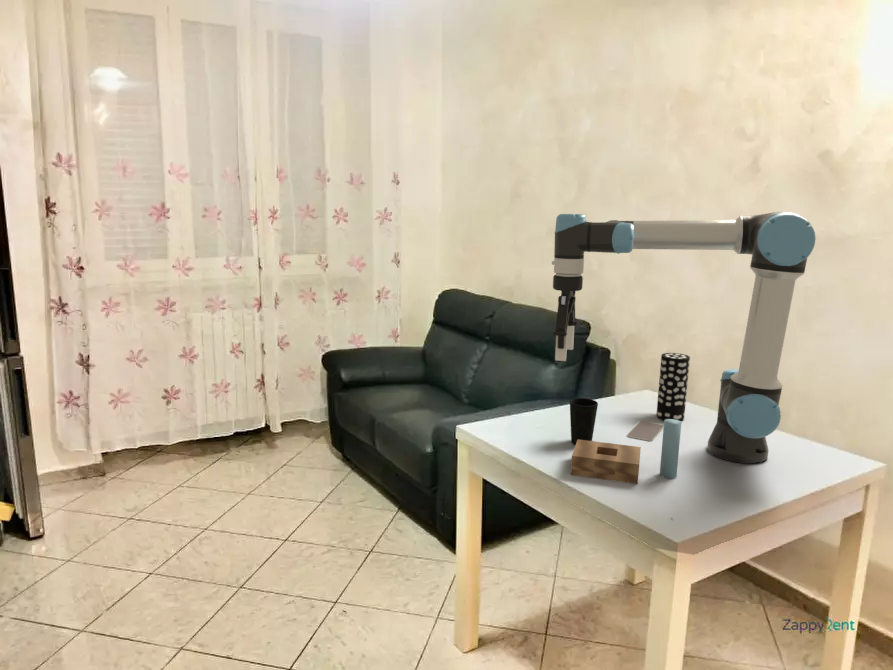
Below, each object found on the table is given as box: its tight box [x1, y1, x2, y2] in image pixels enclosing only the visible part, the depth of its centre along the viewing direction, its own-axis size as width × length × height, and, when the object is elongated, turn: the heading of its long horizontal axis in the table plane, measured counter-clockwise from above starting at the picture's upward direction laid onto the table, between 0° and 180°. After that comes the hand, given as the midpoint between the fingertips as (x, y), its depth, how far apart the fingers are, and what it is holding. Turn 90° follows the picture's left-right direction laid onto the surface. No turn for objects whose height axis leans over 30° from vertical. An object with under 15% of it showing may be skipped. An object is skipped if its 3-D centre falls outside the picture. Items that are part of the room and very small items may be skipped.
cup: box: [569, 397, 599, 446], centre depth 184 cm, size 8×8×12 cm
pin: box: [659, 419, 682, 480], centre depth 163 cm, size 4×4×14 cm
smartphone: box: [626, 420, 664, 442], centre depth 196 cm, size 7×1×15 cm
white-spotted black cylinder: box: [655, 352, 691, 422], centre depth 206 cm, size 8×8×20 cm
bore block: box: [570, 439, 642, 485], centre depth 167 cm, size 16×12×5 cm
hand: (564, 354), depth 175 cm, fingers open, 13 cm apart
